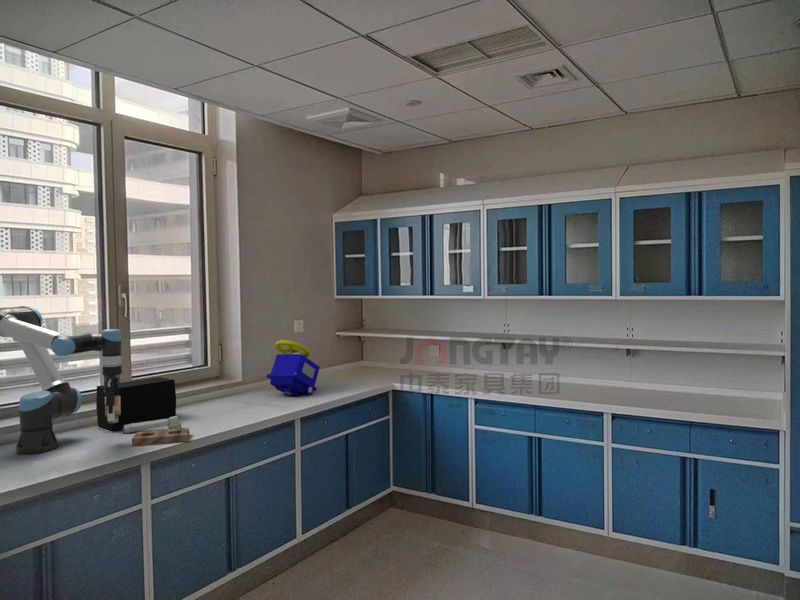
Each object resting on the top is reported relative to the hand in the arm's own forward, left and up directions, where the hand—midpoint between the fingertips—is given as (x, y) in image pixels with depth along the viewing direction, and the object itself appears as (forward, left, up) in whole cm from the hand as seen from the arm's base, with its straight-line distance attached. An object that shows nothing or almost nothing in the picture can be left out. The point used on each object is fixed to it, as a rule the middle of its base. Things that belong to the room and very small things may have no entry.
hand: (113, 418), depth 254 cm
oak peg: (0, 0, -2) cm, 2 cm away
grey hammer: (+13, +19, -11) cm, 25 cm away
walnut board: (+19, 0, -11) cm, 22 cm away
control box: (+82, +90, -11) cm, 122 cm away
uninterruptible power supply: (+3, +37, -11) cm, 39 cm away
